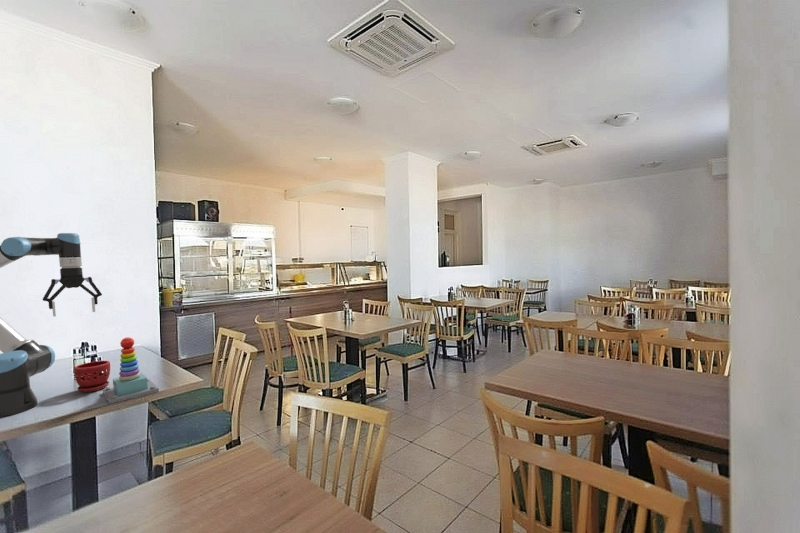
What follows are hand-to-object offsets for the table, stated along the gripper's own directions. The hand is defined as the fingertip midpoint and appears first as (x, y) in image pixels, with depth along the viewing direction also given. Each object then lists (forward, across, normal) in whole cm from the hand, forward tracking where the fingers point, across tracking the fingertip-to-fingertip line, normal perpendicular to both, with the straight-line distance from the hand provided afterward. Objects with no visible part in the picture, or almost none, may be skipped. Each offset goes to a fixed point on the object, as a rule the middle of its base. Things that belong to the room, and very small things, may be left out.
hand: (74, 313), depth 170 cm
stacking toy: (+30, +16, -18) cm, 39 cm away
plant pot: (+37, +5, +2) cm, 37 cm away
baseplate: (+37, +16, -18) cm, 44 cm away
